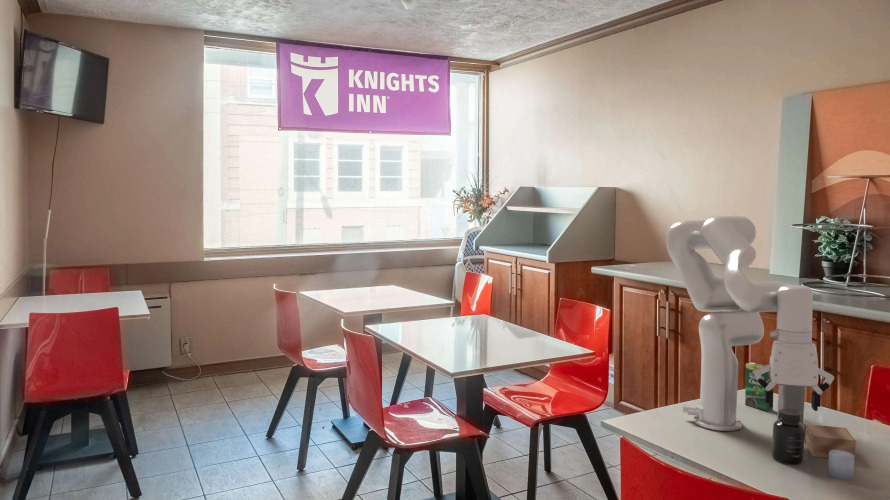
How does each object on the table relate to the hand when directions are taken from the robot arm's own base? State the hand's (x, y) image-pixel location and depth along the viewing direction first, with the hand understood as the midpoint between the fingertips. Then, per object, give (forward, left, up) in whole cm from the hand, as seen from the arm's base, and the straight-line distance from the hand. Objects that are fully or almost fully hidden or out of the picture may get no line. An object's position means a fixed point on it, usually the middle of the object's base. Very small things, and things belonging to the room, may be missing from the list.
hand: (792, 407), depth 161 cm
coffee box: (-1, +42, -13) cm, 44 cm away
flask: (+5, +26, -13) cm, 29 cm away
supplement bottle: (0, +1, -13) cm, 13 cm away
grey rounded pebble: (+10, -5, -13) cm, 17 cm away
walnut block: (+11, +10, -13) cm, 19 cm away
